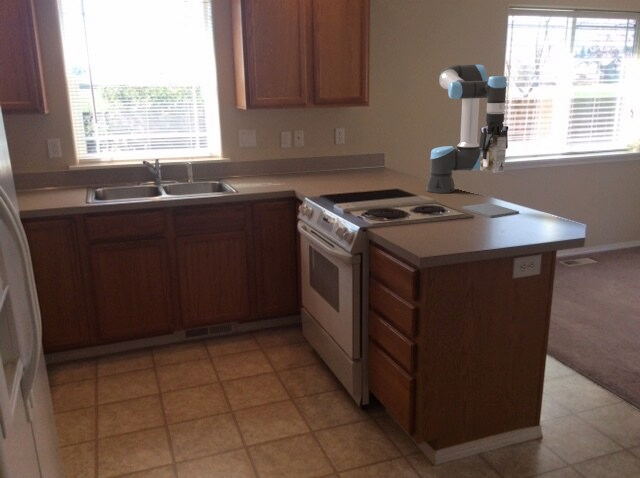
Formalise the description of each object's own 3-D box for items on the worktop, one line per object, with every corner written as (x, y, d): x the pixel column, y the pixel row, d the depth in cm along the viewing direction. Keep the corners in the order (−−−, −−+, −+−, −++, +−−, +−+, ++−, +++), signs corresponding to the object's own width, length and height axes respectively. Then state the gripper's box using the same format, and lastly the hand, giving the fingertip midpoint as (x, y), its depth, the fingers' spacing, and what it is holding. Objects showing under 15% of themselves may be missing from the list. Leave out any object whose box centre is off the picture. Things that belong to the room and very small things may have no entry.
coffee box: (479, 170, 253) (481, 134, 248) (489, 169, 256) (491, 133, 252) (494, 173, 245) (497, 136, 241) (505, 171, 248) (507, 135, 244)
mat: (461, 208, 261) (461, 206, 261) (488, 204, 268) (488, 202, 267) (490, 217, 244) (490, 215, 244) (518, 213, 250) (519, 211, 250)
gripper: (483, 114, 237) (480, 168, 243) (519, 112, 244) (515, 165, 250) (471, 113, 243) (469, 166, 250) (507, 111, 251) (503, 162, 257)
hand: (492, 165), depth 250 cm, fingers closed on coffee box, 7 cm apart
